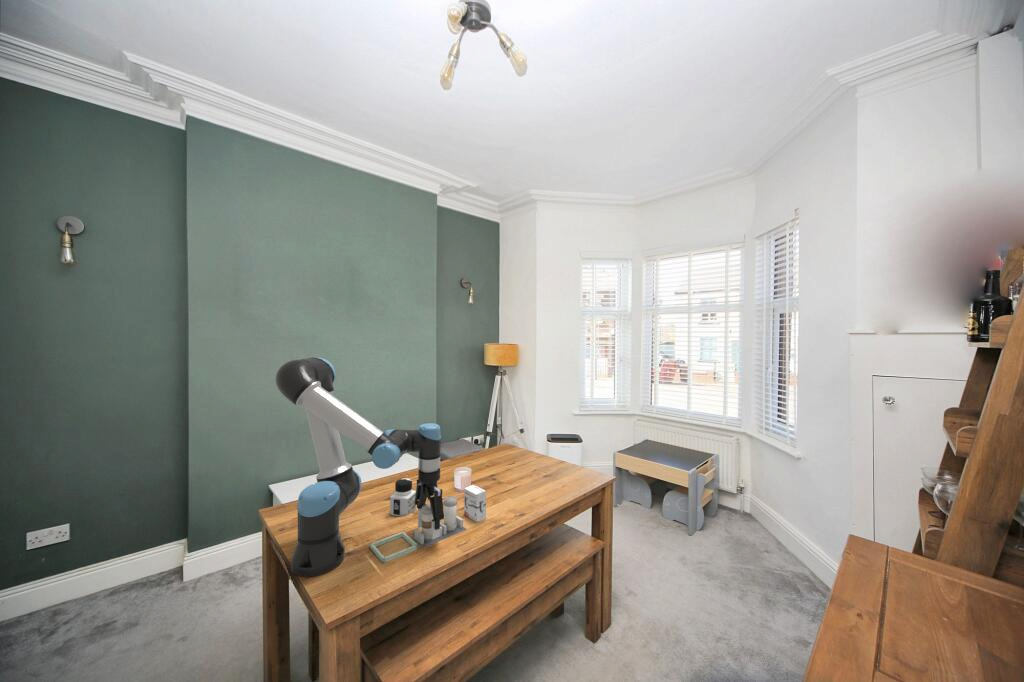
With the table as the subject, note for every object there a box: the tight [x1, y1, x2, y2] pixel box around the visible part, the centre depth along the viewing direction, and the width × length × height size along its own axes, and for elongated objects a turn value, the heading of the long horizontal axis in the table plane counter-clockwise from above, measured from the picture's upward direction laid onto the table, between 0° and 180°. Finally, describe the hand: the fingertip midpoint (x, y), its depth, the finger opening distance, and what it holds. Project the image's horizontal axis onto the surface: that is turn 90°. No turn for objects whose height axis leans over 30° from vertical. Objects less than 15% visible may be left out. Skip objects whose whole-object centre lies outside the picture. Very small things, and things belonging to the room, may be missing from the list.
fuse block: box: [410, 515, 468, 548], centre depth 134 cm, size 18×9×4 cm, turn 132°
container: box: [389, 478, 417, 517], centre depth 150 cm, size 8×8×13 cm
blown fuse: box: [420, 502, 433, 541], centre depth 130 cm, size 5×5×11 cm
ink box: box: [463, 484, 487, 523], centre depth 146 cm, size 9×5×12 cm, turn 44°
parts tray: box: [369, 531, 419, 564], centre depth 124 cm, size 12×11×2 cm
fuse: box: [443, 495, 458, 532], centre depth 136 cm, size 5×5×11 cm
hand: (428, 531), depth 130 cm, fingers open, 9 cm apart
